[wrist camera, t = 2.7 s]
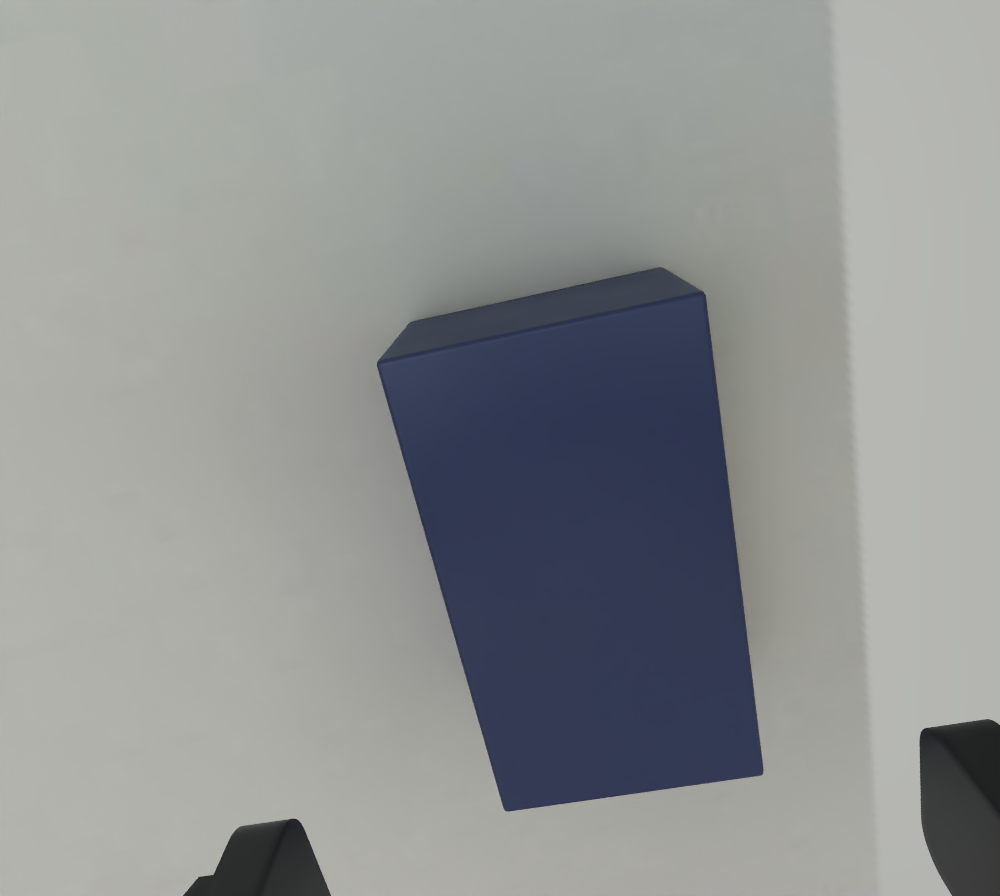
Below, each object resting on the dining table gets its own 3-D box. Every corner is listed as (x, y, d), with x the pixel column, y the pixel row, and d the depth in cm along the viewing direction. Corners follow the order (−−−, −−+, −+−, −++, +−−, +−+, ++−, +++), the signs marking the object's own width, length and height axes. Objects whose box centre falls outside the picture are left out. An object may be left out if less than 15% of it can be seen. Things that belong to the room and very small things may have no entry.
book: (666, 265, 16) (709, 290, 12) (720, 663, 20) (767, 776, 16) (407, 321, 17) (374, 361, 13) (508, 698, 20) (504, 813, 17)
